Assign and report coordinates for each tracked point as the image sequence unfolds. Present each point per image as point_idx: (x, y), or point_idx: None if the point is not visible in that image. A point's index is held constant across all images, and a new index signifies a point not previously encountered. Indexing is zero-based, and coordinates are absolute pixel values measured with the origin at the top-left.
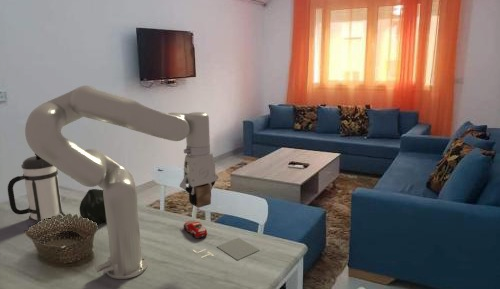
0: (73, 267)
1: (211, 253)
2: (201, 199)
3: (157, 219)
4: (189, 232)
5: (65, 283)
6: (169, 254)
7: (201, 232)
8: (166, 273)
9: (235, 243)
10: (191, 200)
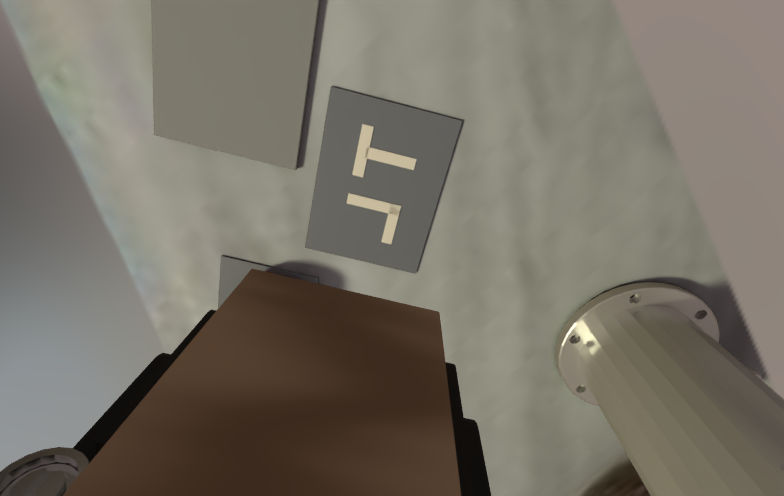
0: None
1: (358, 148)
2: (382, 370)
3: None
4: None
5: None
6: (469, 295)
7: None
8: (595, 203)
9: (207, 106)
10: (480, 450)
